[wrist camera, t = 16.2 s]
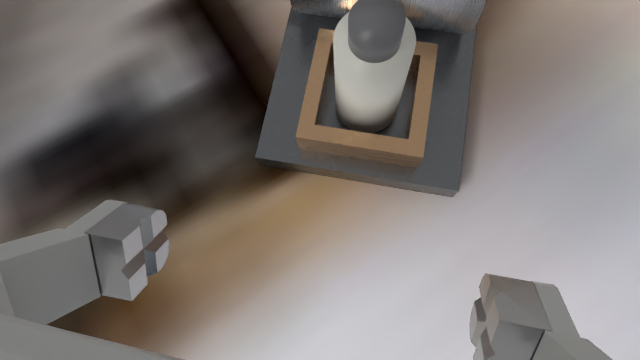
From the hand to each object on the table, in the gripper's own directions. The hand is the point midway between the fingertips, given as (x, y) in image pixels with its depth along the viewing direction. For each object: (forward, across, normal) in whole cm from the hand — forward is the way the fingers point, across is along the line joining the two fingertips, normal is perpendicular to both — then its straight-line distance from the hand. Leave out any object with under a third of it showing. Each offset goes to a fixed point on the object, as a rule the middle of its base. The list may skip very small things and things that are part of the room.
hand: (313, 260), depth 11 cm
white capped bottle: (+25, -1, -3) cm, 25 cm away
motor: (+30, -1, 0) cm, 30 cm away
